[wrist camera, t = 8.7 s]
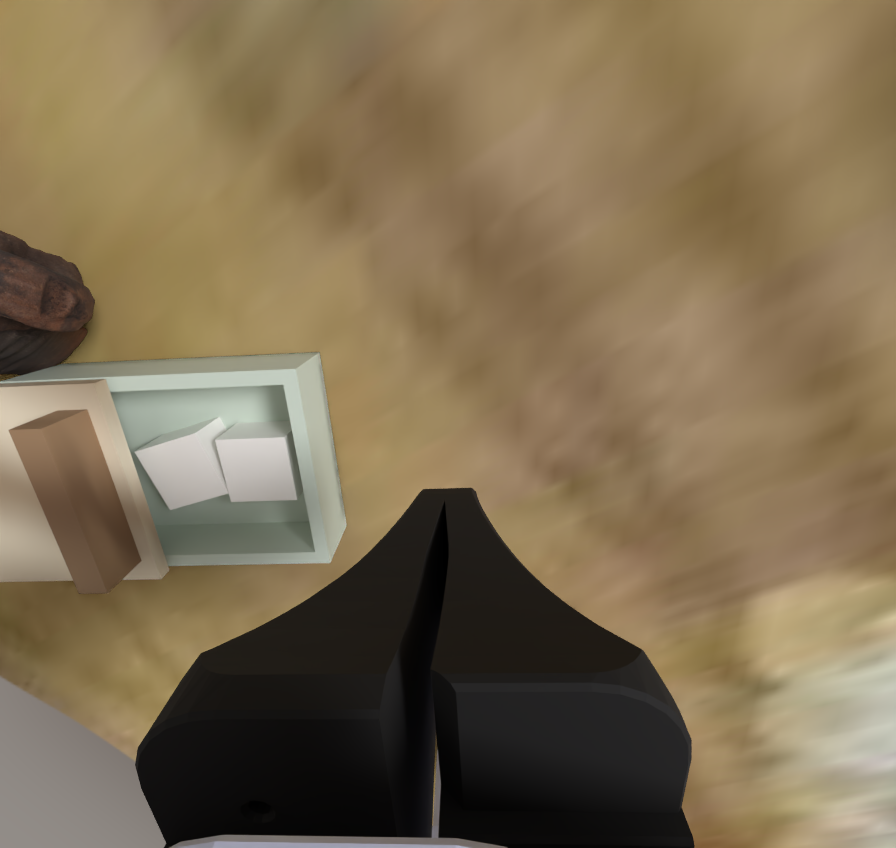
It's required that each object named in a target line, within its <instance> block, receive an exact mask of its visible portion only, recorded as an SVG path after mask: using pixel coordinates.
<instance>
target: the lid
mask: <svg viewBox="0 0 896 848" xmlns="http://www.w3.org/2000/svg"><path fill="white" fill-rule="evenodd" d="M168 571H169V567H168V564H167V561H166V558H165V555H164V552H163V549H162V546H161V543H160V540H159V537H158V534H157V531H156V528H155V525H154V522H153V519H152V516H151V513H150V510H149V507H148V504H147V501H146V498H145V495H144V492H143V489H142V486H141V483H140V480H139V477H138V474H137V471H136V468H135V465H134V462H133V459H132V456H131V453H130V450H129V447H128V444H127V441H126V438H125V435H124V432H123V429H122V426H121V423H120V420H119V417H118V414H117V411H116V408H115V405H114V402H113V399H112V396H111V393H110V390H109V387H108V384H107V381H106V379H94V380H71V381H47V382H24V383H1V384H0V582H30V581H74V584H75V586H76V588H77V591H78V593H79V594H97V593H109V592H110V591H111V590H112V589H113V588H114V587H115V586H116V585H117V584H118V583H119V582H120V581H121V580H144V579H162V578H163V577H164V576H165V575H166V574H167V572H168Z"/></svg>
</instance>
